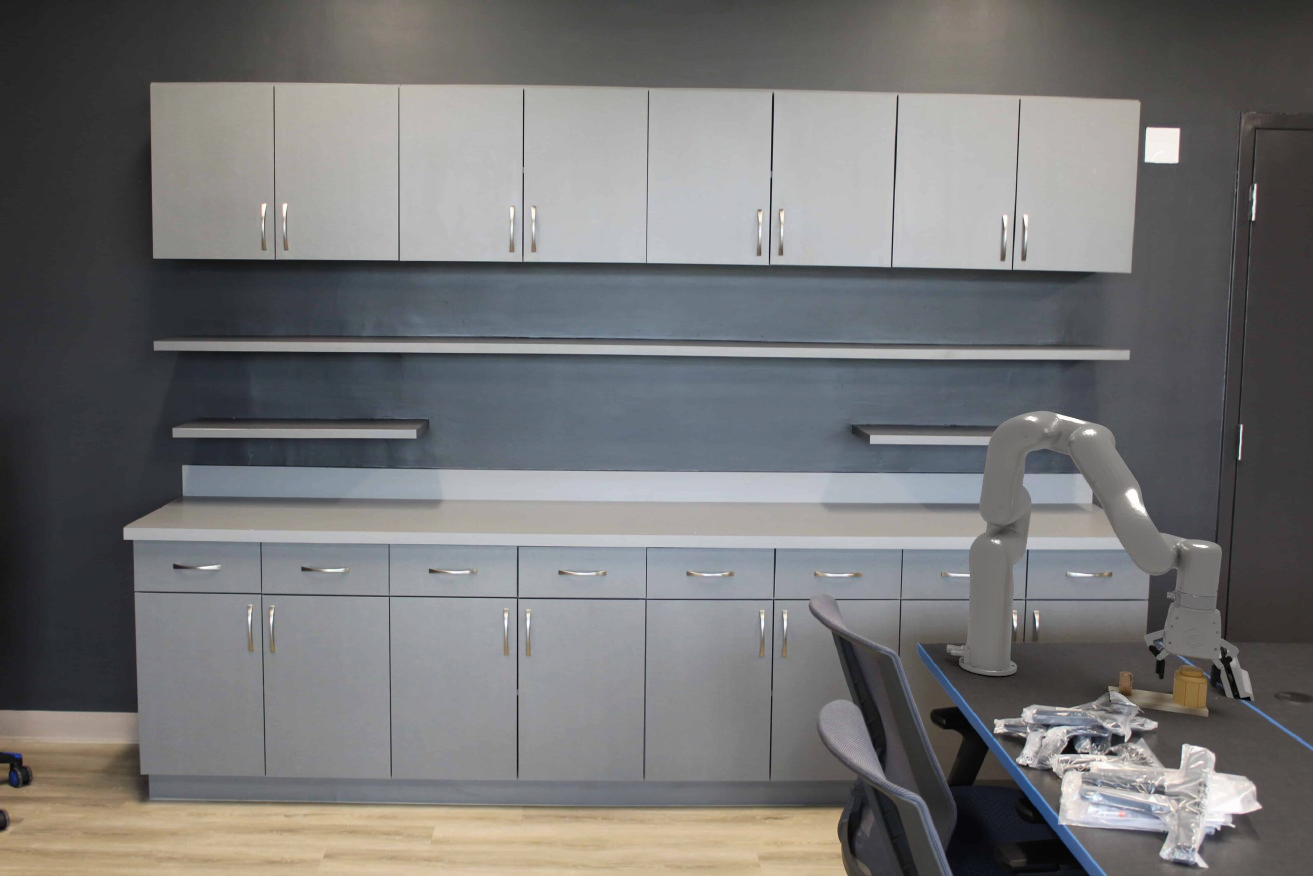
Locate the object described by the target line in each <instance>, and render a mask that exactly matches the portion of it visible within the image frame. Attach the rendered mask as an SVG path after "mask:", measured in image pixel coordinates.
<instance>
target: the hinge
mask: <svg viewBox="0 0 1313 876" xmlns="http://www.w3.org/2000/svg"><path fill="white" fill-rule="evenodd" d="M1228 652H1229V650H1227V649H1225V648H1224V647H1222V646H1221V645H1220V654H1219V657H1218V658H1219V659H1220V658H1222V657H1223V656H1225V655H1227V653H1228ZM1237 655H1238V654H1237ZM1237 655H1236V657H1235V658H1234V659H1233V661H1232V662H1231V663H1229V664H1228V665H1226V666H1224V668H1223V669H1221V677H1220V681H1221V682H1222V685H1223V689H1224V692H1225V696H1226V697H1227V698H1229V699H1234V698H1236V696H1237V697H1240V698H1241V699H1242V698H1247V697H1249V698H1250V701H1251V702H1255V698H1254V693H1253V689H1252V683H1251V682H1252V681H1251V679H1250V674H1249V672H1248V671H1247V670H1245V669H1243V668H1241V665H1240V661H1239V659H1238V656H1237ZM1233 685H1234V686H1233Z"/></svg>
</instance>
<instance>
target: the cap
mask: <svg viewBox="0 0 1313 876" xmlns="http://www.w3.org/2000/svg"><path fill="white" fill-rule="evenodd" d="M1208 680H1209V679H1208V675H1207V674H1206V673H1205V671H1204V669H1203V668H1202V667H1200V666H1195V665H1192V664H1191V665H1188V664H1182V665H1179V669H1176V670H1175V671H1174V677H1173V689H1172V694H1173V701H1174V702H1175V703H1177V704H1180V705H1182V706H1186V707H1194V708H1200V707H1205V706H1206V707H1207V695H1208V694H1207V692H1208Z"/></svg>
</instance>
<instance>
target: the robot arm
mask: <svg viewBox="0 0 1313 876" xmlns="http://www.w3.org/2000/svg"><path fill="white" fill-rule="evenodd" d="M1044 449H1045V450H1049V451H1053V452H1056V453H1059V454H1063V455H1067V456H1070V457H1069V458H1070V459H1071V460H1072V462H1073V463H1074V466H1076V468H1077V469H1078V471H1079V472H1080V474H1081V475H1082V477H1083V479H1084V480H1085V482H1086V483H1087V485H1088V486H1089V488H1090V489H1091V490H1092V492H1093V494H1094V495H1095V497H1096V499H1097V500H1098V502H1099V503H1100V505H1101V507H1102V510H1103V512H1104V514H1105V516H1106V518H1107V520H1108V522H1109V524H1110V526H1111V528H1112V530H1113V532H1114V533H1115V535H1116V537H1117V539H1118V541H1119V542H1120V544H1121V547H1123V549H1124V550H1125V552H1126V553H1127V555H1128V556H1129V558H1130V559H1131V560H1132V562H1133V563H1134V564H1135V566H1136V567H1137V568H1138V569H1139V570H1140V571H1141V572H1143V573H1145V574H1147V575H1150V576H1161V575H1164V574H1166V573H1168V572H1170V570H1172V569H1176V571H1177V572H1176V573H1177V574H1176V583H1175V584H1176V585H1175V589H1174V590H1173V591H1167V592H1166V598H1167V599H1171V600H1173V602H1171V603H1170V605H1169V608H1168V611H1167V614H1166V617H1165V623H1164V628H1162V629H1160V630H1157V631H1153V632H1150V633H1147V634H1144V636H1143V639H1144V642H1145V644H1146V646H1147V649H1148V651H1149V652H1150V653H1151V654H1152V655H1153V656H1154V657H1155V658H1156V660H1155V670H1154V671H1155V672H1154V674H1156V675H1157V676H1158V679H1159V680H1164V677H1165V668H1166V660H1165V658H1166V657H1167V656H1169V655H1174V656H1179V657H1187V658H1193V659H1201V660H1208V661H1209V660H1211V661H1212V662H1213V664H1212V665H1211V671H1210V676H1209V677H1210V678H1209V683H1210V686H1211V687H1212V688H1213V689H1214V688H1215V689H1216V688H1217V684H1220V683H1221V669H1223V668H1224V666H1226V665H1228V664H1229V663H1231V662H1232V661H1233V659H1234V658H1235V657H1236V655H1238V654H1239V652H1240V650H1239V648H1238V647H1237V646H1236V645H1233V644H1232V643H1230V642H1229V641H1228V640H1225V639H1224V638H1222V620H1221V611H1220V610H1219V609H1217V600H1218V593H1219V592H1218V590H1219V583H1220V573H1221V564H1222V556H1223V554H1222V552H1223V550H1222V547H1221V546H1220V545H1219V544H1218V543H1216V542H1212V541H1209V540H1203V539H1193V538H1192V539H1189V538H1185V537H1181V536H1176V535H1173V534H1169V533H1165V532H1160V531H1159V530H1158V528H1157V527H1156V525H1155V524H1154V522H1153V520H1152V519H1151V517H1150V515H1149V513H1148V511H1147V509H1146V507H1145V503H1144V499H1143V494H1142V489H1141V486H1140V484H1139V481H1137V479H1136V478H1135V476H1134V475H1133V473H1132V471H1131V470H1130V469H1129V467H1128V465H1127V464H1126V463H1125V461H1124V459H1123V458H1122V457H1121V455H1120V453H1119V452H1118V450H1117V449H1116V438H1115V436H1114V433H1113V432H1112V431H1111V430H1110V429H1109V428H1108V427H1106V426H1105V425H1102V424H1098V423H1094V422H1092V421H1087V420H1083V419H1078V418H1075V417H1071V416H1067V415H1064V414H1060V413H1056V412H1053V411H1047V410H1038V411H1030V412H1026V413H1023V414H1019V415H1016V416H1014V417H1012V418H1009V419H1008V420H1005V421H1004V422H1002V423H1001V424H1000V425H999V426H998V427H997V428H996V429H995V430H994V431H993V433H992V435H991V437H990V439H989V442H988V445H987V450H986V458H985V464H984V465H985V466H984V470H983V476H982V477H983V478H982V485H981V492H980V498H979V503H978V504H979V506H978V507H979V514H980V516H981V517H982V519H983V521H985V522H986V527H985V528H986V531H984V532H983V533H981V534H980V535H978V536H977V537H976V538H975V539H974V540H973V542H972V544H971V545H970V548H969V552H968V568H969V569H968V570H969V594H968V595H969V596H968V598H969V599H968V600H969V601H968V620H967V636H966V637H967V639H966V642H965V644H961V646H958V645H954V644H946V653H947V654H950V655H951V656H955V657H960V658H959V661H958V664H959V666H960V667H961V668H962V669H964V670H966V671H968V672H971V673H975V674H978V675H979V674H980V675H982V676H983V675H984V676H993V677H1002V676H1010V675H1013V674H1015V673H1016V672H1017V671H1018V670H1017V669H1018V665H1017V663H1016V662H1014V661H1012V660H1011V652H1012V651H1011V649H1012V630H1013V618H1014V617H1013V614H1014V590H1015V587H1014V583H1015V582H1014V566H1015V565H1016V564H1018V563H1019V562H1020V561H1021V560H1022V558H1023V557H1024V555H1025V553H1026V550H1027V549H1026V548H1027V544H1028V538H1029V536H1028V535H1029V528H1030V522H1031V514H1032V498H1031V495H1030V492H1029V491H1028V489H1027V488H1026V487H1025V486H1024V485H1023V484H1024V476H1025V470H1026V457H1027V455H1028V454H1030V453H1031V452H1034V451H1040V450H1044ZM1159 639H1162V646H1161V647H1160V648H1157V646H1156V645H1154V641H1155V640H1159ZM1220 646H1221V647H1223V648H1224V650H1225V649H1227V650H1229V652H1228V653H1227V655H1225V656H1223V657H1222V658H1220V659H1219V658H1218V657H1219V654H1220Z"/></svg>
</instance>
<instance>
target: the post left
mask: <svg viewBox="0 0 1313 876" xmlns="http://www.w3.org/2000/svg"><path fill="white" fill-rule="evenodd" d="M1133 676H1134V674H1133V672H1130V671H1126V670H1125V671H1124V670H1123V671H1120V672H1119V683H1118V685H1119V686H1118V687H1119V693H1121V694H1122V695H1124V696H1131V693H1132V689H1133V678H1134V677H1133Z"/></svg>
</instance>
